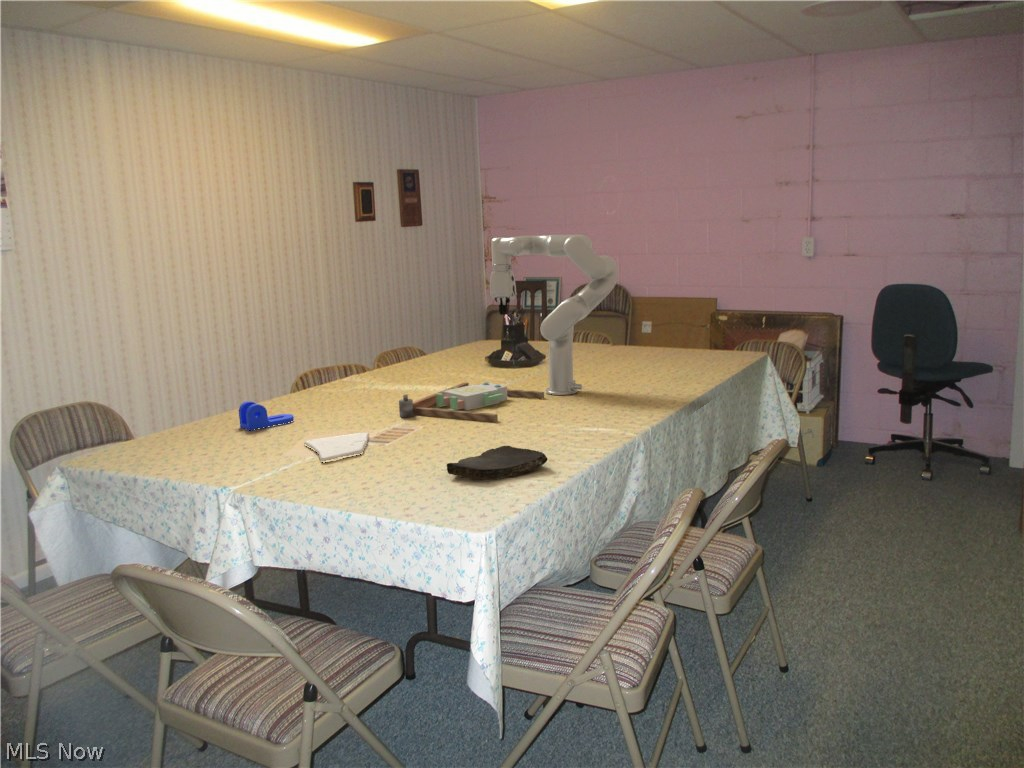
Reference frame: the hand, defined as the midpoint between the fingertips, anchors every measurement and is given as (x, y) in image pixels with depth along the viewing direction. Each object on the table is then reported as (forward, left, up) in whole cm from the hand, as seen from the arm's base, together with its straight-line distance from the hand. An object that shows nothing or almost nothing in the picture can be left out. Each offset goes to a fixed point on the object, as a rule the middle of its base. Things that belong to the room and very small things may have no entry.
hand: (503, 314), depth 333 cm
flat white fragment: (+7, +96, -32) cm, 101 cm away
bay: (-3, +33, -31) cm, 45 cm away
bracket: (+54, +80, -32) cm, 101 cm away
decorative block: (0, +27, -32) cm, 42 cm away
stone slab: (-49, +99, -32) cm, 115 cm away
